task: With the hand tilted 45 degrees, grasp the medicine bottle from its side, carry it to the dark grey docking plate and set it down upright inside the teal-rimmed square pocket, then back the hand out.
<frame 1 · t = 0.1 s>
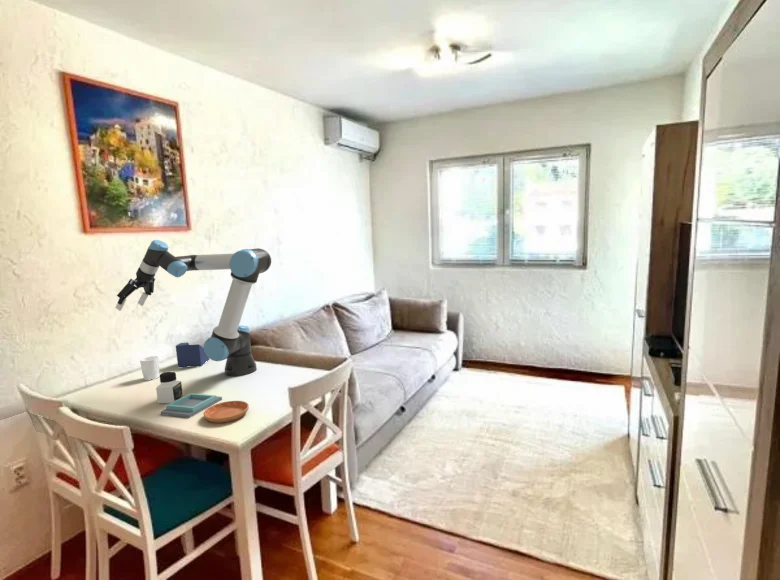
hand: (129, 306, 209), 36 cm above the table, tool tilted 35°, fingers open, 13 cm apart
blue wedge block: (194, 364, 234), on the table
medicine bottle: (170, 400, 181), on the table
dock: (192, 406, 173), on the table
white cup: (151, 378, 212), on the table
saucer: (227, 416, 163), on the table
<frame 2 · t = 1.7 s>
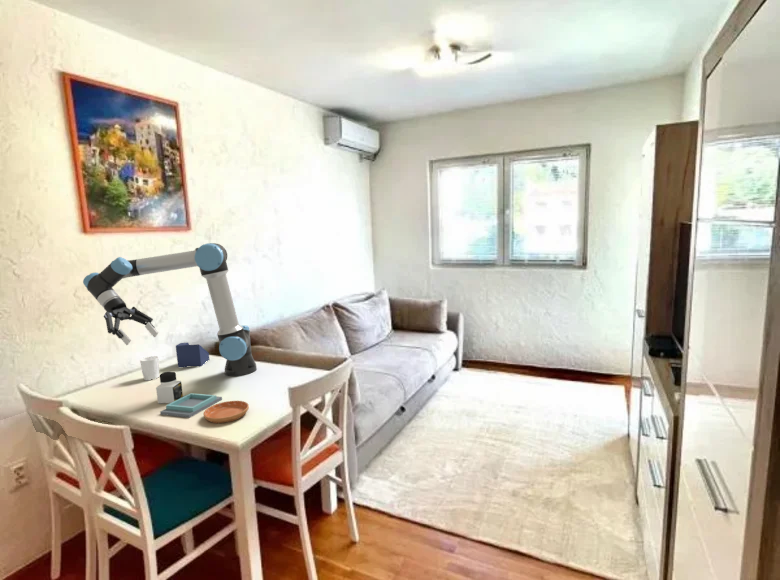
hand: (143, 338, 182), 26 cm above the table, tool tilted 45°, fingers open, 13 cm apart
nothing on the table moved.
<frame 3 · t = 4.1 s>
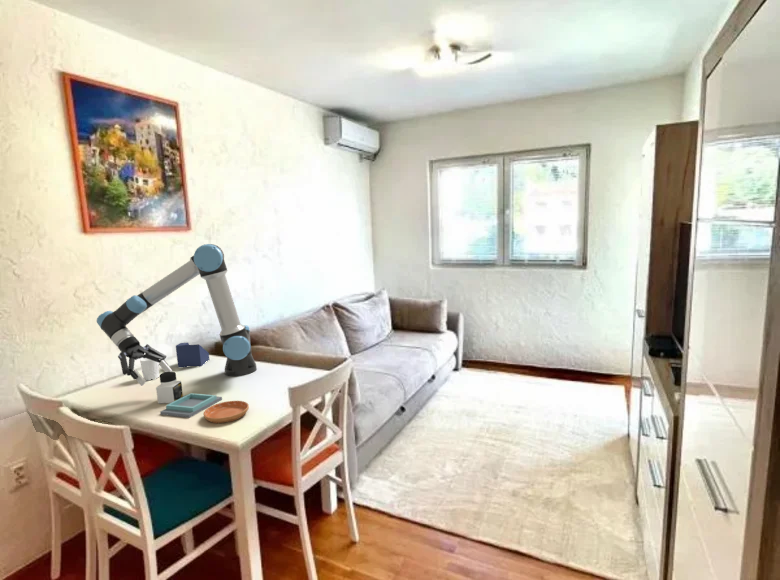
hand: (157, 378, 181), 10 cm above the table, tool tilted 45°, fingers open, 13 cm apart
nothing on the table moved.
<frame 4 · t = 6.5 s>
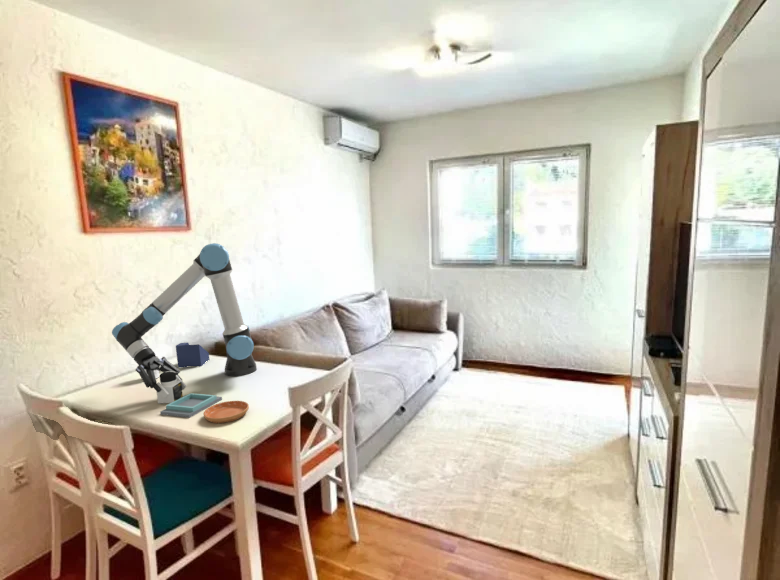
hand: (175, 391, 180), 4 cm above the table, tool tilted 45°, fingers closed on medicine bottle, 9 cm apart
medicine bottle: (170, 400, 181), on the table, touching gripper
everything else where it was.
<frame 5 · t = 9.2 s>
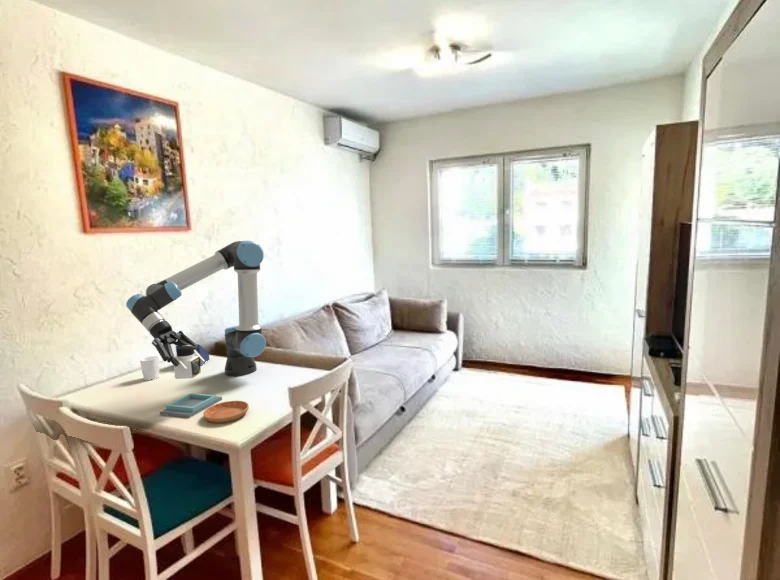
hand: (194, 366, 170), 17 cm above the table, tool tilted 45°, fingers closed on medicine bottle, 9 cm apart
medicine bottle: (188, 376, 171), point 13 cm above the table, touching gripper
everything else where it was.
when the fingers open (7 cm above the table, at t = 12.0 s): medicine bottle drops 2 cm, resting on dock.
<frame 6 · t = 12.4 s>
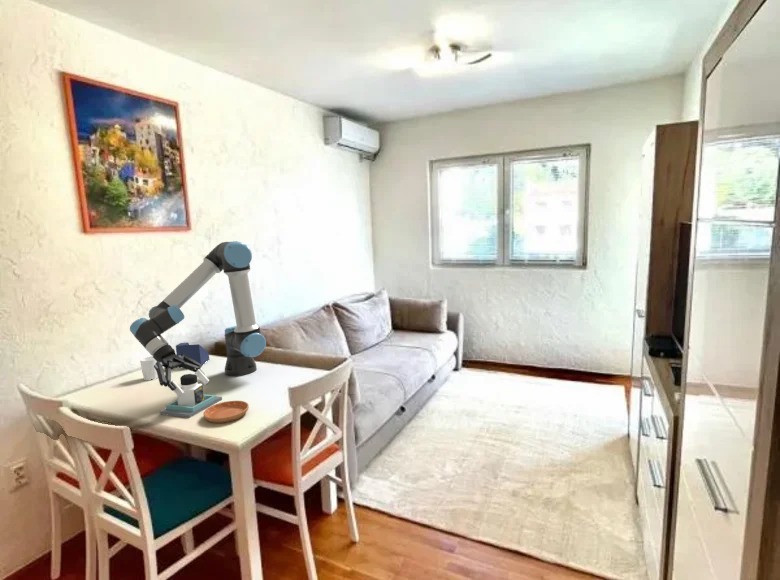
hand: (195, 388, 171), 8 cm above the table, tool tilted 45°, fingers open, 13 cm apart
medicine bottle: (191, 404, 173), point 1 cm above the table, touching dock
everything else where it was.
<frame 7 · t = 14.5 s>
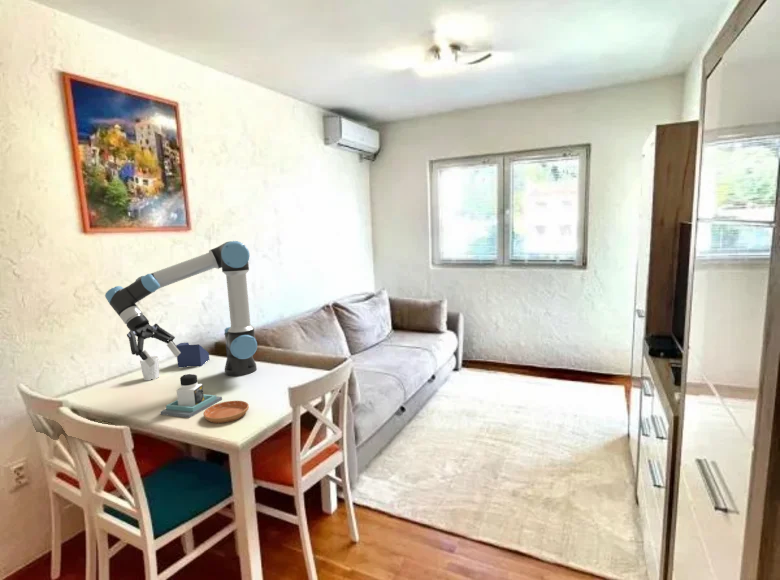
hand: (166, 359, 176), 18 cm above the table, tool tilted 40°, fingers open, 13 cm apart
nothing on the table moved.
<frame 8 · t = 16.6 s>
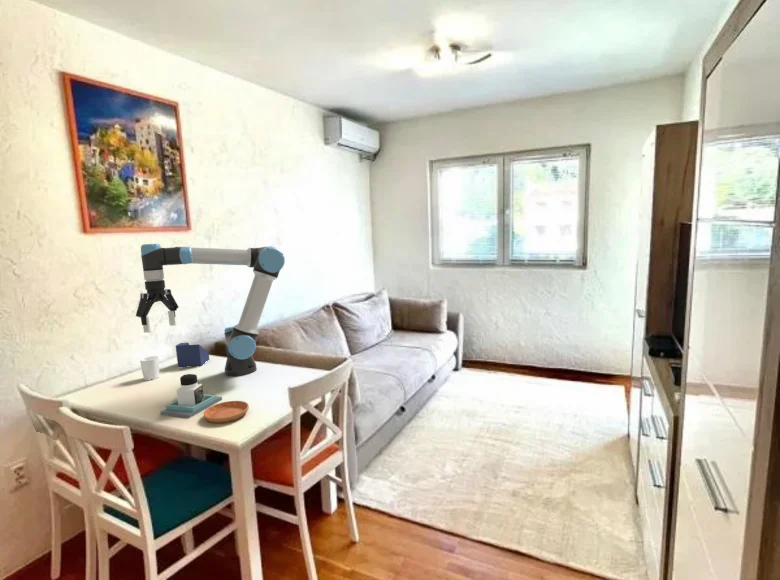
hand: (160, 328, 187), 29 cm above the table, tool pointing down, fingers open, 13 cm apart
nothing on the table moved.
at the end: medicine bottle 0.2 cm from the dock (horizontally); medicine bottle tilted 0°; the gripper is holding nothing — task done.
